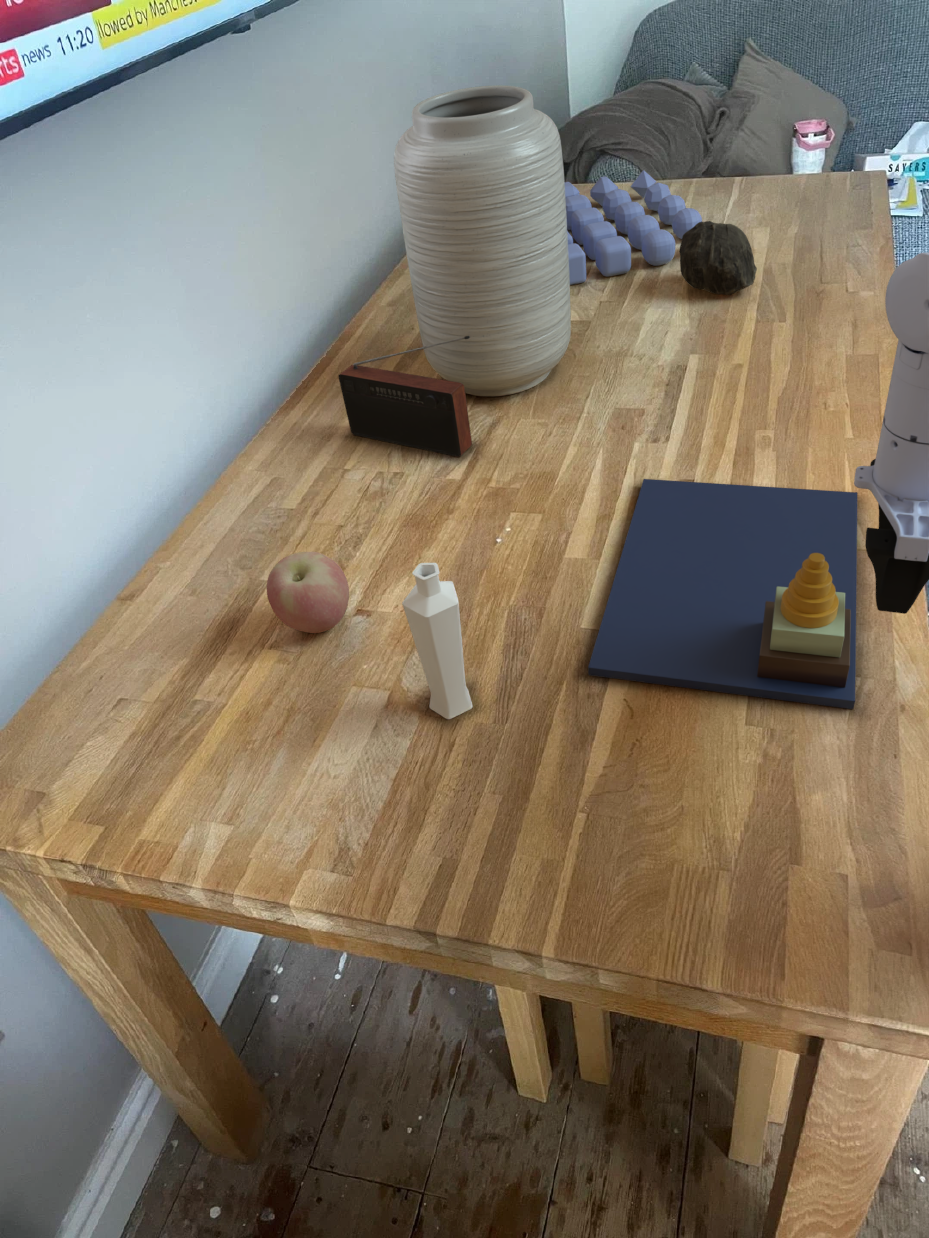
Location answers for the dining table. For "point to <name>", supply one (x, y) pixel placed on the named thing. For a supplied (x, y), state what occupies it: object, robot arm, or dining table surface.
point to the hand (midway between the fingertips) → (892, 577)
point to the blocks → (623, 226)
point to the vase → (486, 237)
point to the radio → (406, 408)
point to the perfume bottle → (438, 639)
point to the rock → (717, 258)
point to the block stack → (805, 647)
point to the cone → (811, 595)
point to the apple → (308, 592)
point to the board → (720, 585)
